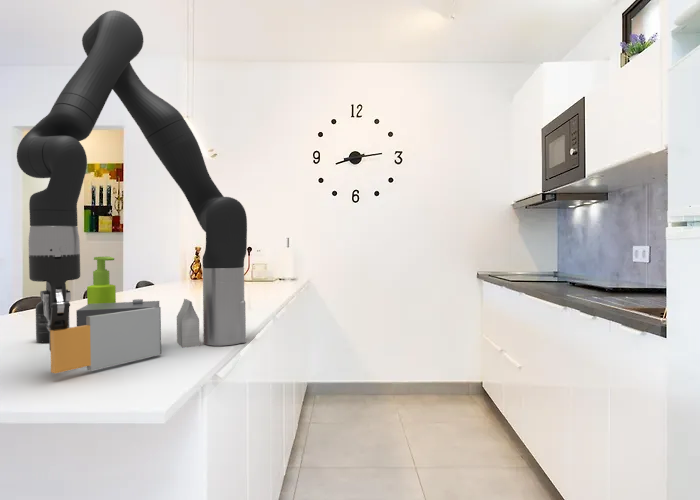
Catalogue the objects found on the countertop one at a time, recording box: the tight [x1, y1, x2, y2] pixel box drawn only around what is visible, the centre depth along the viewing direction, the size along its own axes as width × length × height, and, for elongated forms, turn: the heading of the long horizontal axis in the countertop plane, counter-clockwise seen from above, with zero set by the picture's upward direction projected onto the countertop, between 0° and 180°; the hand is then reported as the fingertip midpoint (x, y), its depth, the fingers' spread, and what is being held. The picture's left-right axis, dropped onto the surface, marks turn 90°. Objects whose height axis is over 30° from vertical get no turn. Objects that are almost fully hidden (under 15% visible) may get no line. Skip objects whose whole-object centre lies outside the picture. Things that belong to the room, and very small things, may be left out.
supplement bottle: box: [35, 289, 71, 344], centre depth 113 cm, size 7×7×12 cm
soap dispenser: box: [86, 255, 117, 305], centre depth 110 cm, size 6×7×20 cm
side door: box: [50, 306, 162, 374], centre depth 87 cm, size 21×1×10 cm, turn 148°
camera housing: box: [75, 298, 160, 327], centre depth 100 cm, size 14×13×11 cm
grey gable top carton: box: [176, 298, 201, 348], centre depth 108 cm, size 4×7×10 cm, turn 30°
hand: (57, 351), depth 82 cm, fingers closed
